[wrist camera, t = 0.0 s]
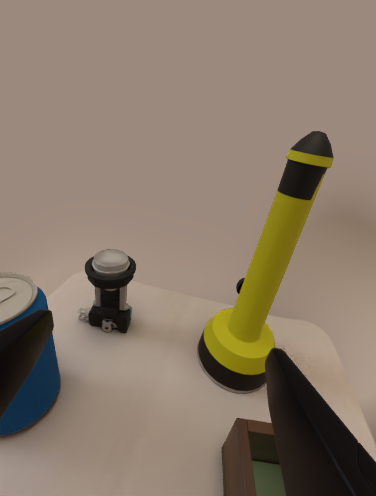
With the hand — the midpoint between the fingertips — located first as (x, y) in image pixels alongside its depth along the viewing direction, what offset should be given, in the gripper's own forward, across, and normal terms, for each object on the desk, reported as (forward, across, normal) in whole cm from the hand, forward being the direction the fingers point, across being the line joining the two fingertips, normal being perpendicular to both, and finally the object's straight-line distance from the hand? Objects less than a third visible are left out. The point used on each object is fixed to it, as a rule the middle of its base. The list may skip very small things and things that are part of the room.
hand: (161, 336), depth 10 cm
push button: (+15, +8, +17) cm, 24 cm away
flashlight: (+13, -8, +17) cm, 23 cm away
